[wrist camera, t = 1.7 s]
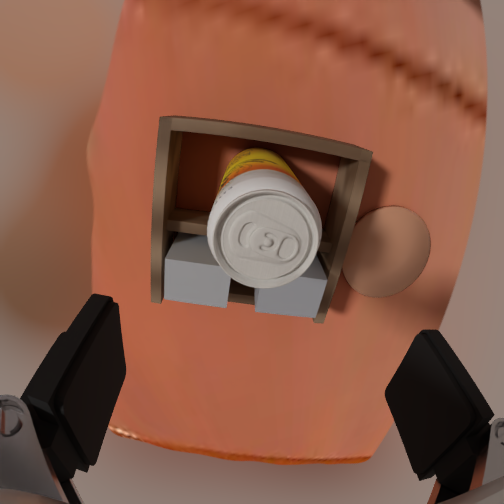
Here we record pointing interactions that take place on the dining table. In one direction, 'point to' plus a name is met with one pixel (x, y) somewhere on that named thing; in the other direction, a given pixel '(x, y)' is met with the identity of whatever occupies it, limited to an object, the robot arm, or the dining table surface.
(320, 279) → the offcut
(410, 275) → the coaster
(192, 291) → the offcut
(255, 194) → the beer can
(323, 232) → the rack
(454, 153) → the dining table surface
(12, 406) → the robot arm
